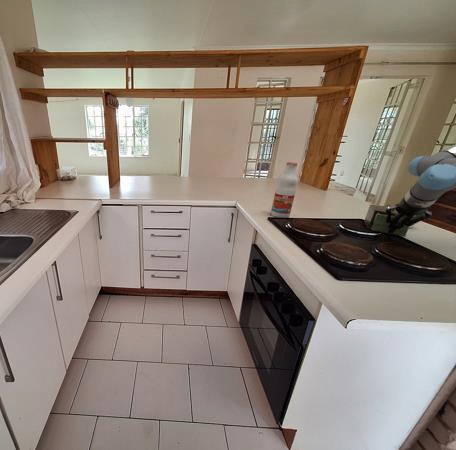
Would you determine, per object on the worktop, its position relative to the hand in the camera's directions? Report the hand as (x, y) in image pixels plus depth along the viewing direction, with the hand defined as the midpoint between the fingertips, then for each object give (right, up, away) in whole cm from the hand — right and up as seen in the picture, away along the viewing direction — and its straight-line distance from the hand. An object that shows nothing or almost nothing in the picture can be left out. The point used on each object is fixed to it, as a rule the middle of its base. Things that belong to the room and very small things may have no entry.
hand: (390, 230), depth 103 cm
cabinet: (+8, +1, +12) cm, 14 cm away
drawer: (+5, 0, +7) cm, 9 cm away
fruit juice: (-36, +7, +25) cm, 44 cm away
